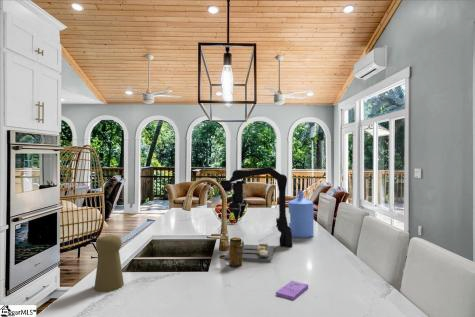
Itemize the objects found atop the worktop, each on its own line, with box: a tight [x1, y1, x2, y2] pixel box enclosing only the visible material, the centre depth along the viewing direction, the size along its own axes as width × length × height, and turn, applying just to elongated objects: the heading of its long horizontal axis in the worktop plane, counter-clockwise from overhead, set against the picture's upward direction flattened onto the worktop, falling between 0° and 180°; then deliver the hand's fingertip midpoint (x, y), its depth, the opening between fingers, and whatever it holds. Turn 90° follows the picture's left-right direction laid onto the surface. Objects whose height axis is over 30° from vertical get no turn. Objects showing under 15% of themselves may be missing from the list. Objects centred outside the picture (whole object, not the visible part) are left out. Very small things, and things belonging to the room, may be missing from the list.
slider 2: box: [257, 246, 266, 254], centre depth 153 cm, size 4×3×3 cm
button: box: [259, 250, 268, 257], centre depth 148 cm, size 4×4×2 cm
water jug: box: [288, 190, 315, 239], centre depth 198 cm, size 16×16×28 cm
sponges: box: [275, 280, 309, 301], centre depth 113 cm, size 7×13×2 cm, turn 144°
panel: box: [224, 241, 276, 263], centre depth 158 cm, size 22×23×4 cm
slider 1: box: [258, 242, 269, 250], centre depth 160 cm, size 4×3×3 cm
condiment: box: [225, 237, 247, 269], centre depth 142 cm, size 7×8×12 cm
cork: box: [93, 234, 125, 293], centre depth 119 cm, size 10×10×19 cm
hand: (238, 218), depth 178 cm, fingers open, 9 cm apart
